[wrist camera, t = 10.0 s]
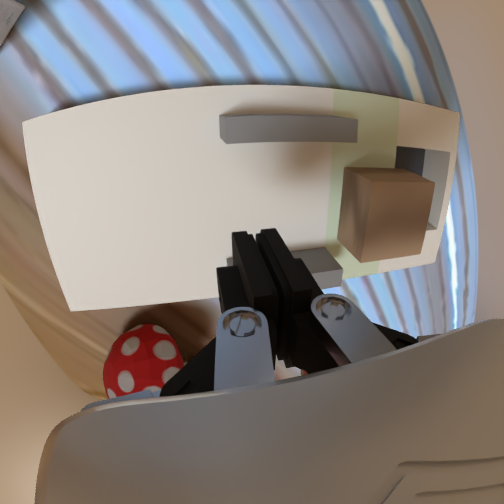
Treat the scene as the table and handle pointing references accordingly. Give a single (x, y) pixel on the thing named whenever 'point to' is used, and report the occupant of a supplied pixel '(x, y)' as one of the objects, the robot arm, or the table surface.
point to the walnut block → (383, 212)
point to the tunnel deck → (219, 183)
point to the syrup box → (8, 16)
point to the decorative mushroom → (141, 361)
